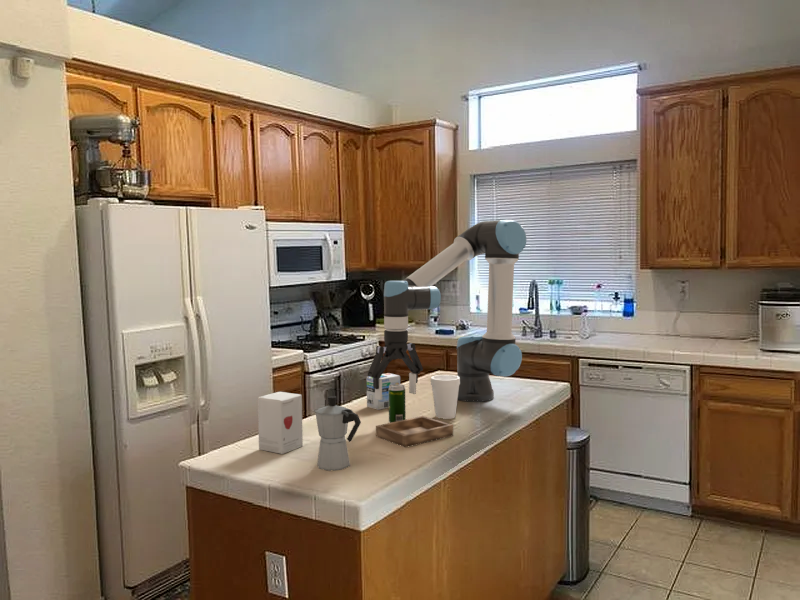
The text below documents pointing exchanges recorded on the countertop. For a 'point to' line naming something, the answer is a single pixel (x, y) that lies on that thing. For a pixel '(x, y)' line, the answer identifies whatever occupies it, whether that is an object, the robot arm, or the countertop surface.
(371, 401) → the light bulb box
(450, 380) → the foam cup
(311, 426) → the countertop surface
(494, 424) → the countertop surface
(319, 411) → the coffee maker
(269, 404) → the supplement box
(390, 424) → the tray
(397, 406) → the beer can
